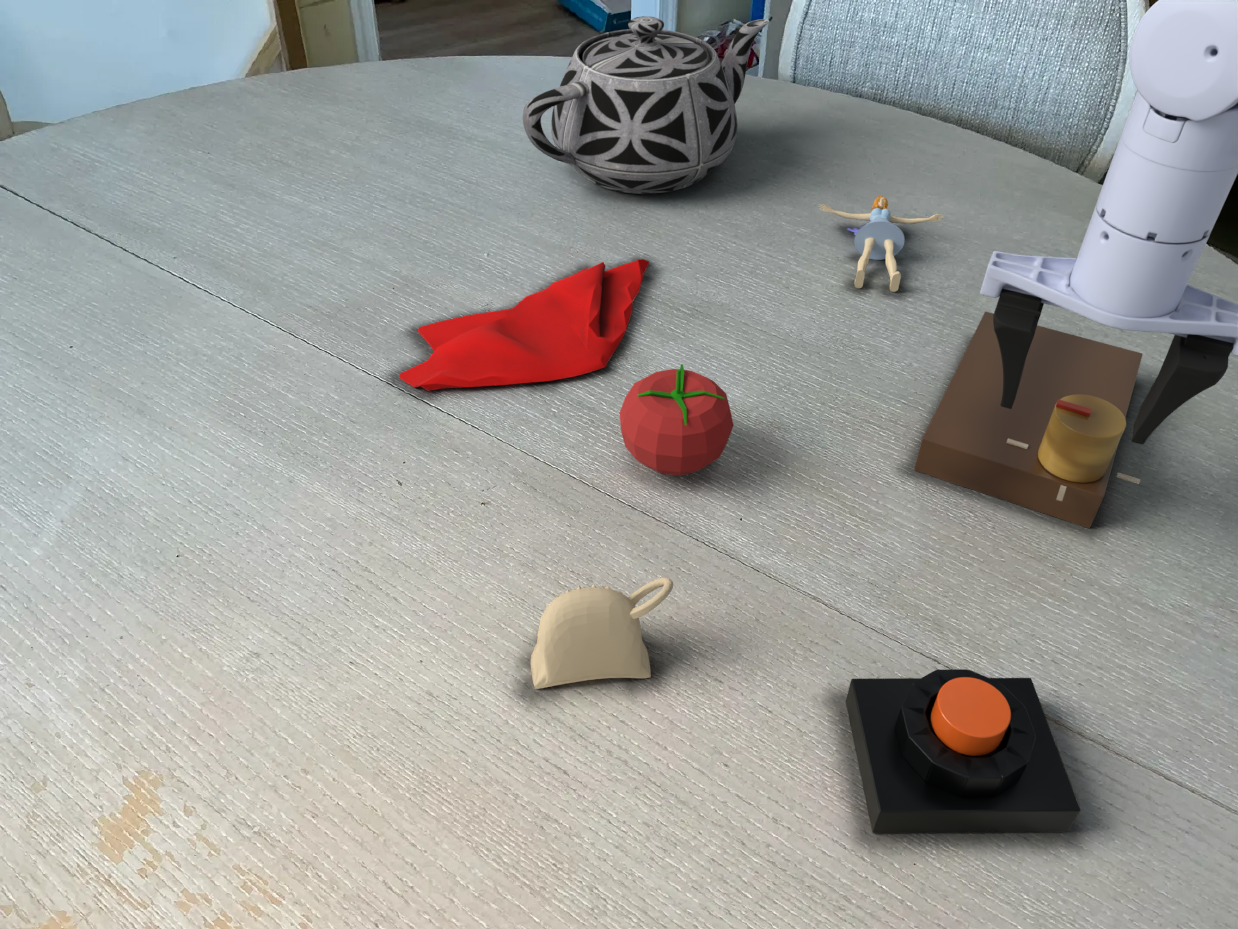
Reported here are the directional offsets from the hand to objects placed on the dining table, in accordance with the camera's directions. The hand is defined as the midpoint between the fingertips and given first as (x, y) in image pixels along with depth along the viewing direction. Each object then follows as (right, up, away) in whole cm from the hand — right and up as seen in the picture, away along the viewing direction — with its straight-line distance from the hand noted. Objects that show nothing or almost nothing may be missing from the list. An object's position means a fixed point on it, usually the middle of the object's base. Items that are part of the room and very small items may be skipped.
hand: (1072, 416), depth 62 cm
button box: (-10, -19, -8) cm, 23 cm away
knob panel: (+3, -1, +12) cm, 13 cm away
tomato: (-24, -3, +11) cm, 26 cm away
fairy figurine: (-4, +16, +31) cm, 35 cm away
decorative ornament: (-29, -15, -3) cm, 33 cm away
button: (-10, -16, -10) cm, 22 cm away
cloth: (-34, +8, +22) cm, 41 cm away
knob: (+3, -3, +6) cm, 7 cm away
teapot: (-25, +29, +45) cm, 59 cm away
